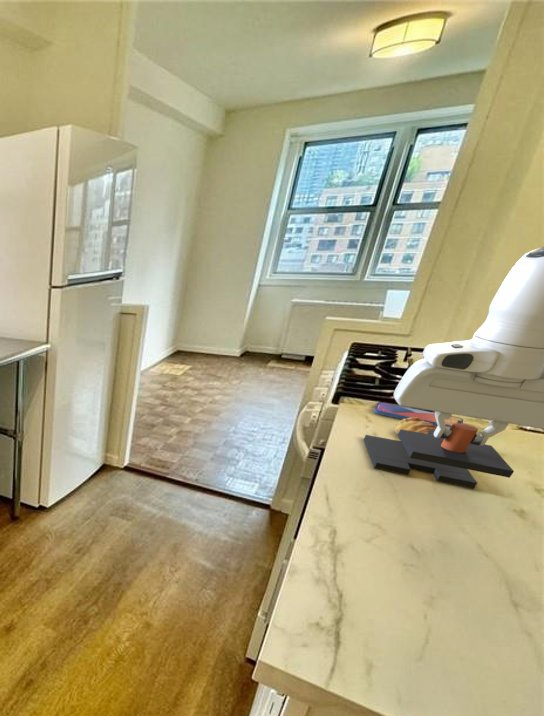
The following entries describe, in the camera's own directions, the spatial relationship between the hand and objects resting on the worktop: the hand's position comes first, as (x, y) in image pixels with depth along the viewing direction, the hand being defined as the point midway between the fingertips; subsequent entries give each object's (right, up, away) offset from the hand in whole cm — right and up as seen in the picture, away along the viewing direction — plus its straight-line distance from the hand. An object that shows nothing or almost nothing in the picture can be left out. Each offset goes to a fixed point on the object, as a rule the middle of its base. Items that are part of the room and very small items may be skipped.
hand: (457, 440), depth 79 cm
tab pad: (+1, -2, +2) cm, 3 cm away
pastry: (+16, 0, +23) cm, 27 cm away
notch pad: (+7, -4, +14) cm, 16 cm away
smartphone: (+25, +6, +32) cm, 41 cm away
